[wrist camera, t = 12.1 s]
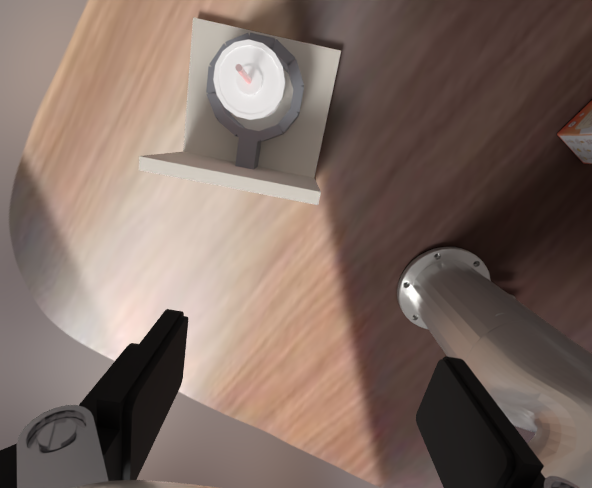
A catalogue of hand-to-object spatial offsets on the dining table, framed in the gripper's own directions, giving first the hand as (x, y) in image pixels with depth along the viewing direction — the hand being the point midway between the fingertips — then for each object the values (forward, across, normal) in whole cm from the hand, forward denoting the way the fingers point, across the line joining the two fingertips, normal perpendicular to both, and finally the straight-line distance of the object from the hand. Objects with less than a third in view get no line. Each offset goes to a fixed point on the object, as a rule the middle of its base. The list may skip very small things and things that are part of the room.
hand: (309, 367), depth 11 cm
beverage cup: (+29, +7, -12) cm, 32 cm away
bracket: (+30, +7, -10) cm, 33 cm away
